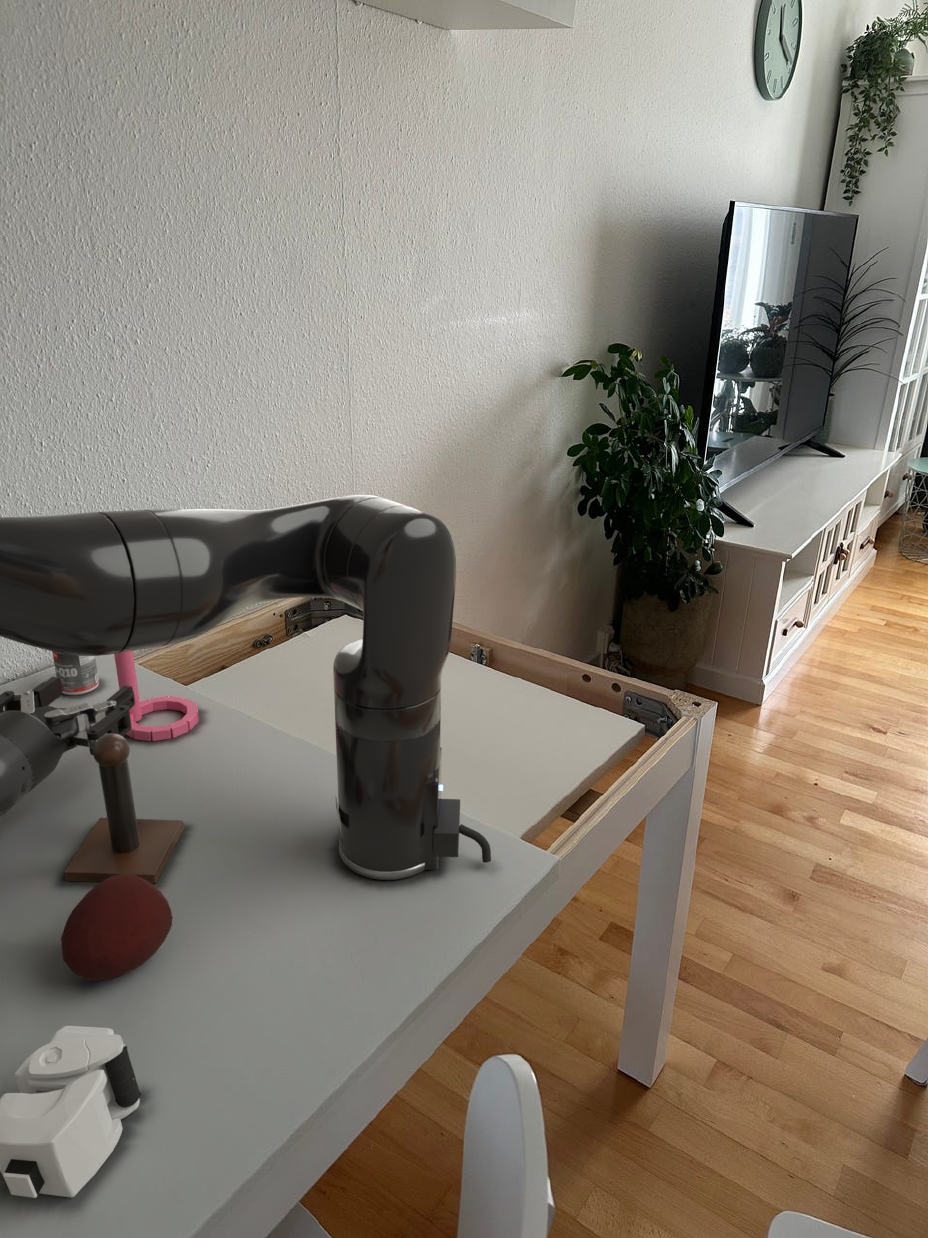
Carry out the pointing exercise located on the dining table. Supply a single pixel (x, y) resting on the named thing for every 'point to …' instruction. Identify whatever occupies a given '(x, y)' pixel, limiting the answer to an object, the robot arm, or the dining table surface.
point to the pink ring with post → (153, 705)
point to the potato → (115, 928)
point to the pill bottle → (76, 673)
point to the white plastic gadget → (66, 1112)
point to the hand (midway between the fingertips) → (94, 689)
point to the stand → (122, 826)
